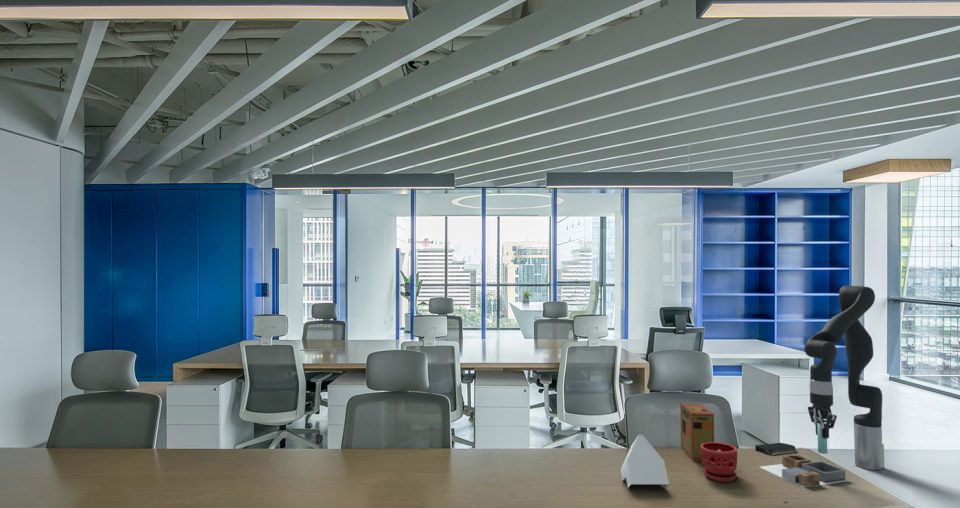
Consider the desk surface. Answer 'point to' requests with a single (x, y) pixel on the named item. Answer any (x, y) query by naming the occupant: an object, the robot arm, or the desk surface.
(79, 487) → the desk surface
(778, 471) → the board
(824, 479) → the tray
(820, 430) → the dowel
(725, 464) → the plant pot
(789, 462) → the socket
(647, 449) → the slotted wedge
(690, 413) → the box
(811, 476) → the brown wooden block
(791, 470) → the grey rectangular brick
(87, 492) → the desk surface
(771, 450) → the black sponge
